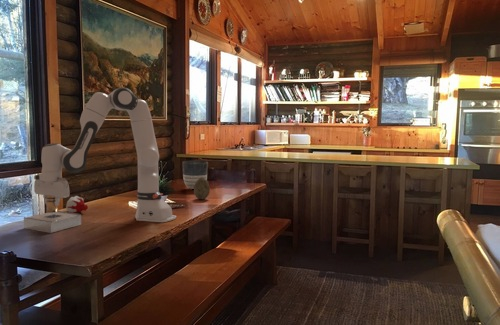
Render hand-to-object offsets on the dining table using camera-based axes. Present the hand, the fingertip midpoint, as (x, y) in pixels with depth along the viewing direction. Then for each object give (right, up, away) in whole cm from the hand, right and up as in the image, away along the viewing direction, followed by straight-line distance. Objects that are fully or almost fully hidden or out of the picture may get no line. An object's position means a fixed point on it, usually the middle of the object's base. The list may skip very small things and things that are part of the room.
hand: (52, 204), depth 205 cm
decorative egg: (+64, -5, +80) cm, 102 cm away
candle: (-1, -8, +32) cm, 33 cm away
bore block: (0, -11, +1) cm, 11 cm away
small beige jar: (0, -3, 0) cm, 3 cm away
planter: (+54, 0, +121) cm, 133 cm away
